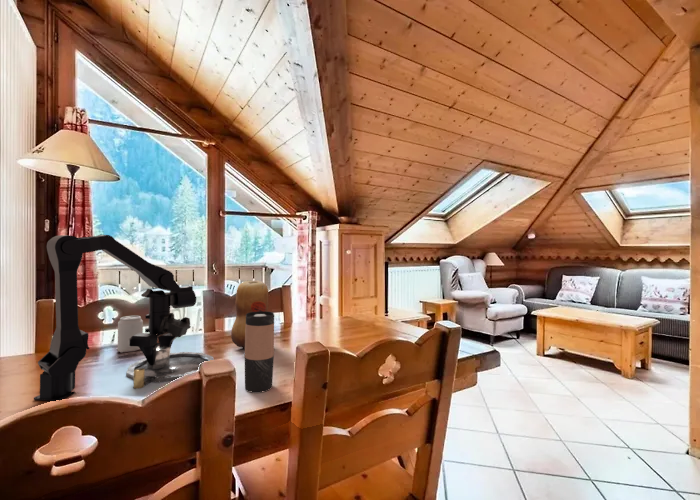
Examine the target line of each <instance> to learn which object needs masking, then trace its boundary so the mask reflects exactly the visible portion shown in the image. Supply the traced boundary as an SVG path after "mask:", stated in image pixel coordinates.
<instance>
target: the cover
mask: <svg viewBox="0 0 700 500" xmlns="http://www.w3.org/2000/svg"><path fill="white" fill-rule="evenodd" d="M170 353H171V348H170V347H168V346H160V345H159V346H158V347H157V348H156V356H155V363H154V365H153V366H151V365H149V363H148V361H147V367H148V368H151V369H157V368H163V367H166V366H168V365H169V364H170Z"/></svg>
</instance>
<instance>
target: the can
mask: <svg viewBox="0 0 700 500" xmlns="http://www.w3.org/2000/svg"><path fill="white" fill-rule="evenodd" d="M139 333H144V320H143V319H142V317H141V316H140V315H126V316H122V317H120V318H119V321H118V322H117V351H118V352H120V353H121V354H122V353H126V352H136V351H139V350H140V348H139V347H138V346H129V339H130V338H131V337H132V336H133V335H136V334H139Z"/></svg>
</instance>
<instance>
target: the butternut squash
mask: <svg viewBox="0 0 700 500" xmlns="http://www.w3.org/2000/svg"><path fill="white" fill-rule="evenodd" d="M235 293H236V294H235V313H236V315H235V316H236V317H235V319H234V322H233V324H232V328H231V330H230V331H231V333H230V336H231V341H232V342H233V343H234V345H236V346H237V347H238V348H243V349H245V328H246V314H247V313H250V312H257V311H267V312H268V309H269V288H268V285H266V283H265V282H263V281H261V280H257V279H256V280H245V281H243V282H241V283H240V284H239V285H238V286H237V288H236V292H235Z"/></svg>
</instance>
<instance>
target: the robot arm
mask: <svg viewBox="0 0 700 500" xmlns="http://www.w3.org/2000/svg"><path fill="white" fill-rule="evenodd" d="M98 251H102V252H103V253H105V254H106V255H109V256H110V257H111V258H113V259H115V260H116V261H118V262H120V263H121V264H123V265H124V266H126V267H127V268H129V269H130V270H132V271H134V272H135V273H136V274H138V276H139V277H140V279H141V280H142V281H143V282H145V283H146V284H147V285H148V286H149V287H151V288H147V289H146V291H144V292H143V293H142V294H141V295H140V296H141V297H143V298H146V299H147V298H148V314H145V319H147V320H148V327H147V328H145V332H143V333H139V334H136V335H133V336H132V337H131V338H130V339H129V346H138V347H139V348H140V349H139V350H140V351H141V353H142V354H143V355H144V357H145V358H146V359H147V361H148V363H149V365H151V366H153V365H154V363H155V356H156V348H157V347H158V346H168V347H170V349H171V348H172V345H173V342H174V341H175V339H177V338H181V337H182V336H186V334H187V333H188V330H189V329H191V319H190V318H189V317H187V316H185V317H183V318H182V317H181V319H180V318H177V319H176V318H175V314H174V312H171V307H172V308H173V309H183V308H191V307H194V306H195V305H196V303H197V296H196V291H194V286H192V285H185V286H179V284H178V283H177V281H176V280H175V275H174V274H173V272H171V271H170V270H168V269H166V268H164V267H161V266H158V265H155V264H153V263H151V262H148V261H147V260H146V259H144V258H143V257H141V256H140V255H139V254H137V253H135V252H134V251H132V250H131V249H130V248H128V247H126V246H125V245H124V244H123V243H120V242H119V241H118V240H117V239H115V238H114V237H113V236H112V235H109V234H98V235H94V236H93V235H92V236H84V237H83V236H82V237H77V236H75V235H65V234H64V235H63V234H62V235H60V234H59V235H55V236H53V237H51V238H50V239H49V240H48V241H47V242H46V252H47V255H48V259H49V261H50V262H49V263H50V264H51V266H52V269H53V271H54V289H55V290H54V292H55V293H54V294H55V321H56V322H55V323H56V324H55V325H56V326H55V327H56V328H55V329H54V330H55V331H54V333H53V335H52V337H51V341H50V347H49V351H48V352H46V354H45V355H44V356H43V357H41V358H40V359H39V360H38V361H37V364H38V366H39V368H40V369H41V370H42V371H43V372H42V373H41V374H39V394H38V395H36V396H34V397H33V400H34V401H45V400H46V402H48V401H47V400H50V401H49V402H55V401H54V400H59V401H61V400H64V399H65V398H67V397H69V396H72V395H74V394H76V393H77V391H73V390H74V389H75V388H76V370H77V368H78V365H79V364H80V362H81V361H82V360H83V359H84V358H85V357H86V355H87V350H90V346H89V343H88V341H89V333H88V332H85V330H84V331H83V330H81V328H80V326H79V305H78V304H79V303H78V302H79V300H78V270H79V268H80V265H81V264H82V263H81V262H82V260H83V255H84V253H92V252H98ZM152 288H155V289H159V290H153V289H152ZM165 291H168V292H165ZM60 399H61V400H60Z"/></svg>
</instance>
